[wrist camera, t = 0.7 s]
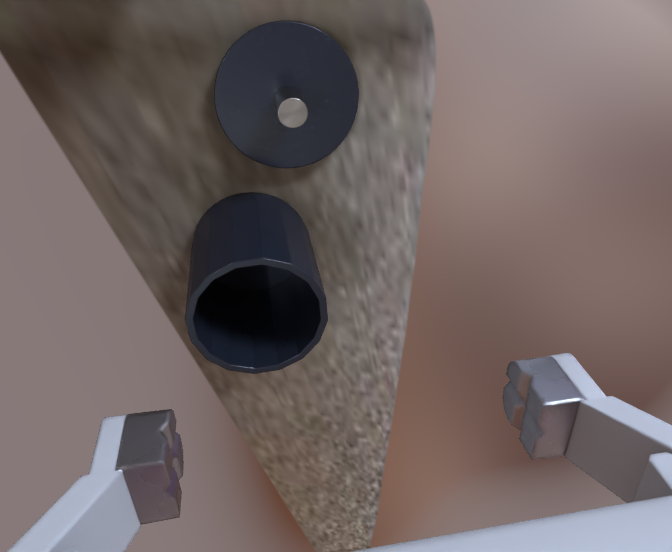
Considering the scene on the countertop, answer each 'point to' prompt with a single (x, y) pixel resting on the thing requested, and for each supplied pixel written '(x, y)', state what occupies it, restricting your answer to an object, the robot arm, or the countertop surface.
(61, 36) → the countertop surface
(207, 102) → the countertop surface
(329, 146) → the lid
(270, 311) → the canister
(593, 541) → the robot arm
